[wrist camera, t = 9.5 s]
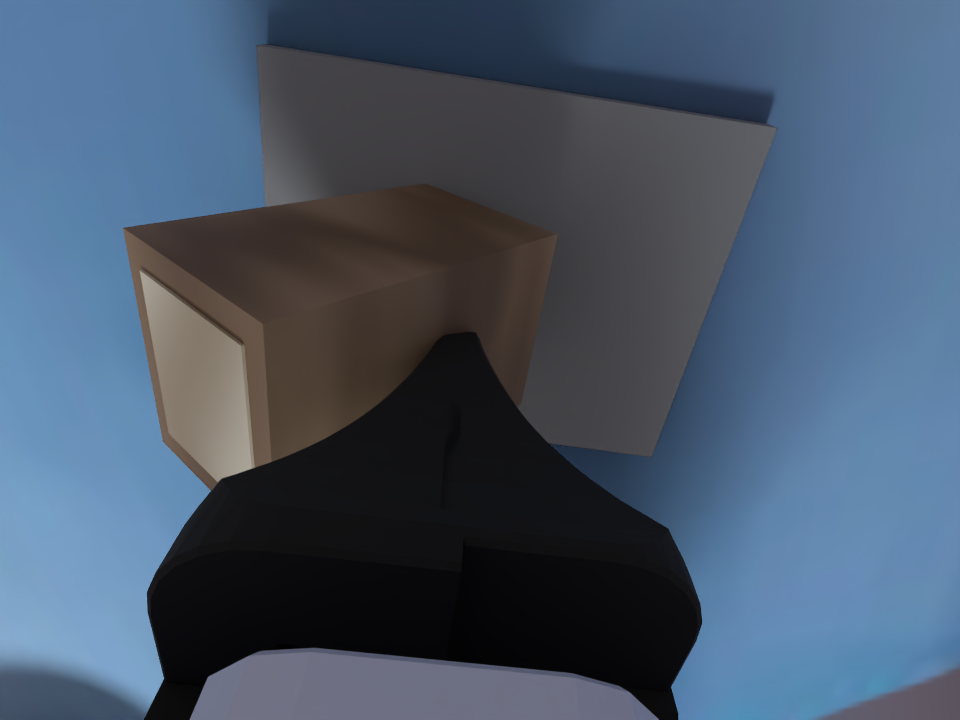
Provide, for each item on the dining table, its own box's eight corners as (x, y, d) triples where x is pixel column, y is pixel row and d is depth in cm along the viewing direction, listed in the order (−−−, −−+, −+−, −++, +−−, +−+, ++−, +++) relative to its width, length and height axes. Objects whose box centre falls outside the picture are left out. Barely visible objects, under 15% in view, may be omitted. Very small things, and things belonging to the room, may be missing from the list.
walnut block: (557, 233, 12) (259, 324, 7) (521, 404, 15) (275, 560, 10) (424, 183, 14) (120, 228, 9) (411, 339, 17) (160, 442, 12)
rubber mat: (767, 123, 14) (777, 127, 13) (647, 445, 19) (651, 457, 18) (266, 44, 13) (256, 45, 13) (282, 395, 18) (275, 406, 18)
